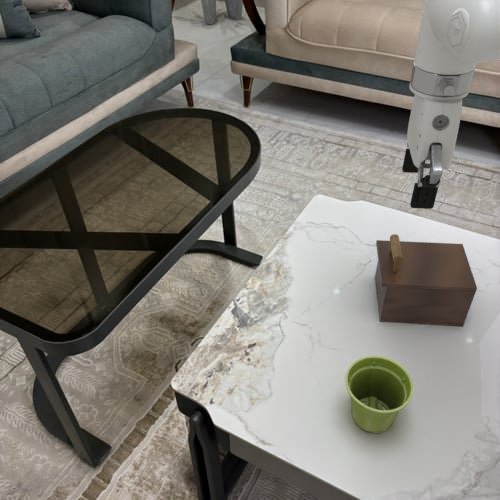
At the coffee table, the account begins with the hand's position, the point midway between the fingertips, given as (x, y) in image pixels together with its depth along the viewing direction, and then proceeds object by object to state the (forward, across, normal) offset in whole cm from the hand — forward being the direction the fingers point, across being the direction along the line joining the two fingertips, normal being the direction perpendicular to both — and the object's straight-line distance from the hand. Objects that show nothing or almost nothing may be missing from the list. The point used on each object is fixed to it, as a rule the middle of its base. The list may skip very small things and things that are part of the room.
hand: (416, 188), depth 76 cm
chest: (+26, +2, -5) cm, 27 cm away
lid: (+17, +2, -5) cm, 18 cm away
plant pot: (+26, -23, +5) cm, 36 cm away
